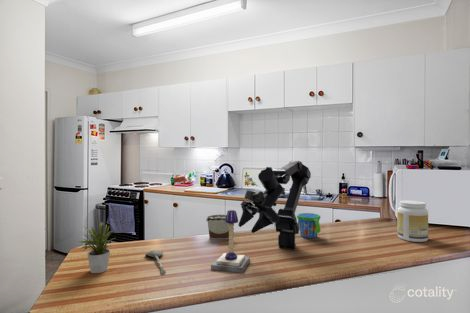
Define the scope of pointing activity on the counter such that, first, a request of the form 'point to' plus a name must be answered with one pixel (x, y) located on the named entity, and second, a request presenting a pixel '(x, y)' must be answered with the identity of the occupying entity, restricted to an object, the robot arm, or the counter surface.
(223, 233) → the food container
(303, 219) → the snack cup
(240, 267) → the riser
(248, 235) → the counter surface
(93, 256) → the house plant
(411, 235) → the supplement tub
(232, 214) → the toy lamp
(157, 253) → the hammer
